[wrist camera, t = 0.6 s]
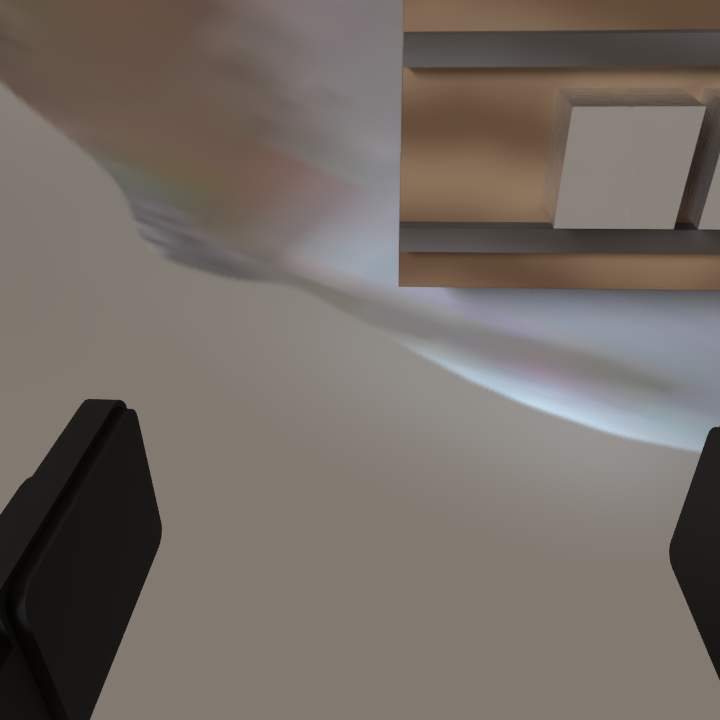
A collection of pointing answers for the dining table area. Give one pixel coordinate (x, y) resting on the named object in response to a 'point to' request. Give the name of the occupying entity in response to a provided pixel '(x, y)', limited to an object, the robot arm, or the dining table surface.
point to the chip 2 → (705, 168)
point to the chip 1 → (620, 157)
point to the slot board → (535, 139)
